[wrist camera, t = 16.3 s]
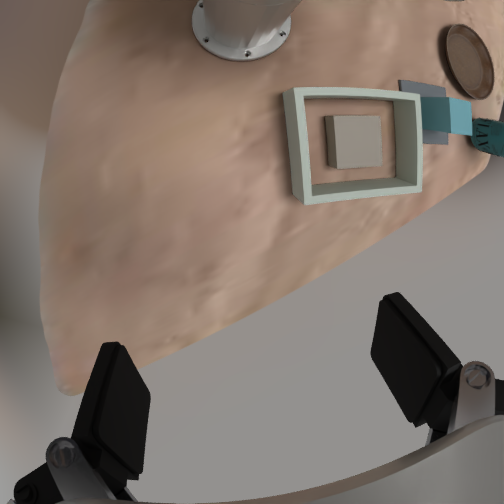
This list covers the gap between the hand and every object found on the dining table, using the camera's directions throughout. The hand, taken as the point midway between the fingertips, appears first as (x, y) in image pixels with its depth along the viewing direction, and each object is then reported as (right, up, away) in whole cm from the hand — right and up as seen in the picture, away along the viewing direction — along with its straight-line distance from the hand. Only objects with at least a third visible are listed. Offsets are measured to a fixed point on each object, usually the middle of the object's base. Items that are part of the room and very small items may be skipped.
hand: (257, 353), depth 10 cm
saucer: (+38, +38, +22) cm, 58 cm away
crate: (+13, +19, +27) cm, 35 cm away
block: (+27, +25, +25) cm, 45 cm away
